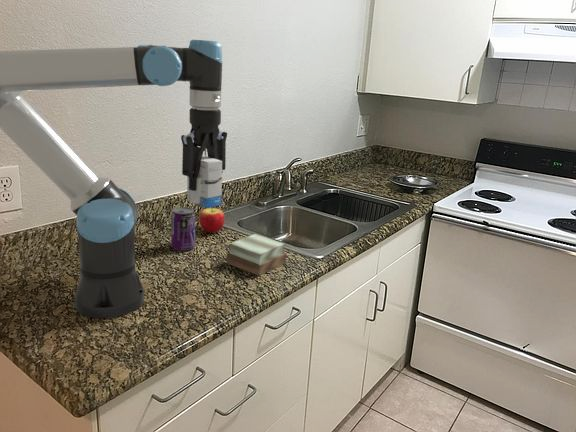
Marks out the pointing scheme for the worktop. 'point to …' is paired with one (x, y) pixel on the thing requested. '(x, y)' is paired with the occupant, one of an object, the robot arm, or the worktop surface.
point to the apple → (211, 219)
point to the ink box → (209, 182)
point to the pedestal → (256, 254)
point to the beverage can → (183, 228)
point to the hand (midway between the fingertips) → (204, 199)
